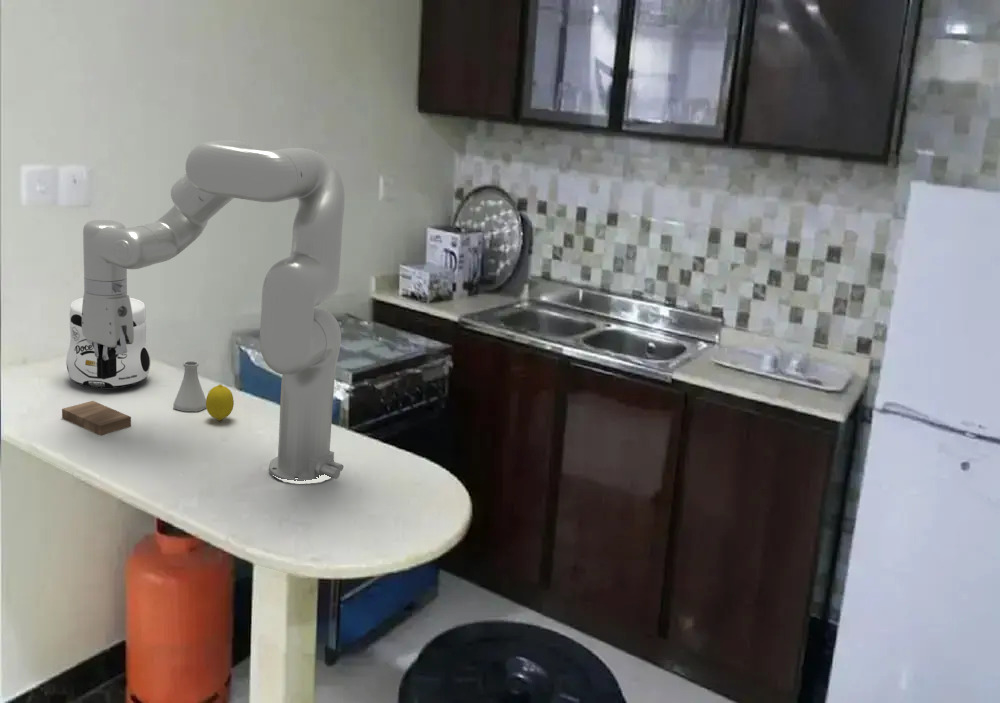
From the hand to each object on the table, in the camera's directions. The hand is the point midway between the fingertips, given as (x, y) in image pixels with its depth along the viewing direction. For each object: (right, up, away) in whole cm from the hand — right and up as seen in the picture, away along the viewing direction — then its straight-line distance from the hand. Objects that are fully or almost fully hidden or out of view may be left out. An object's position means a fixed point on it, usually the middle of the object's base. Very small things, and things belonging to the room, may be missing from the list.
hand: (106, 376), depth 182 cm
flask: (+10, -7, +18) cm, 22 cm away
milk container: (-11, -2, +27) cm, 29 cm away
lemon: (+18, -10, +12) cm, 24 cm away
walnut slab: (+1, -10, +2) cm, 10 cm away
